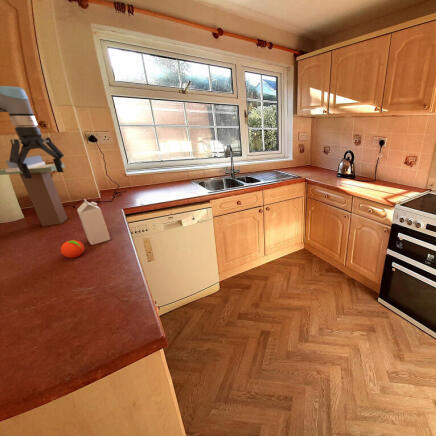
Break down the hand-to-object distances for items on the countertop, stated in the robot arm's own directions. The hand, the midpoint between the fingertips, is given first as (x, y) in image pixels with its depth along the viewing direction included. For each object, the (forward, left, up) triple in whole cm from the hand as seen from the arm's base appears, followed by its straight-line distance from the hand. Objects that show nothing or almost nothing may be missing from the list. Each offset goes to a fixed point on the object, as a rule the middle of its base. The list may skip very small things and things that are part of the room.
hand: (45, 175), depth 114 cm
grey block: (-8, +10, +3) cm, 13 cm away
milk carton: (+17, -27, -28) cm, 42 cm away
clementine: (+11, -40, -28) cm, 49 cm away
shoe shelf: (-7, +14, -27) cm, 32 cm away
